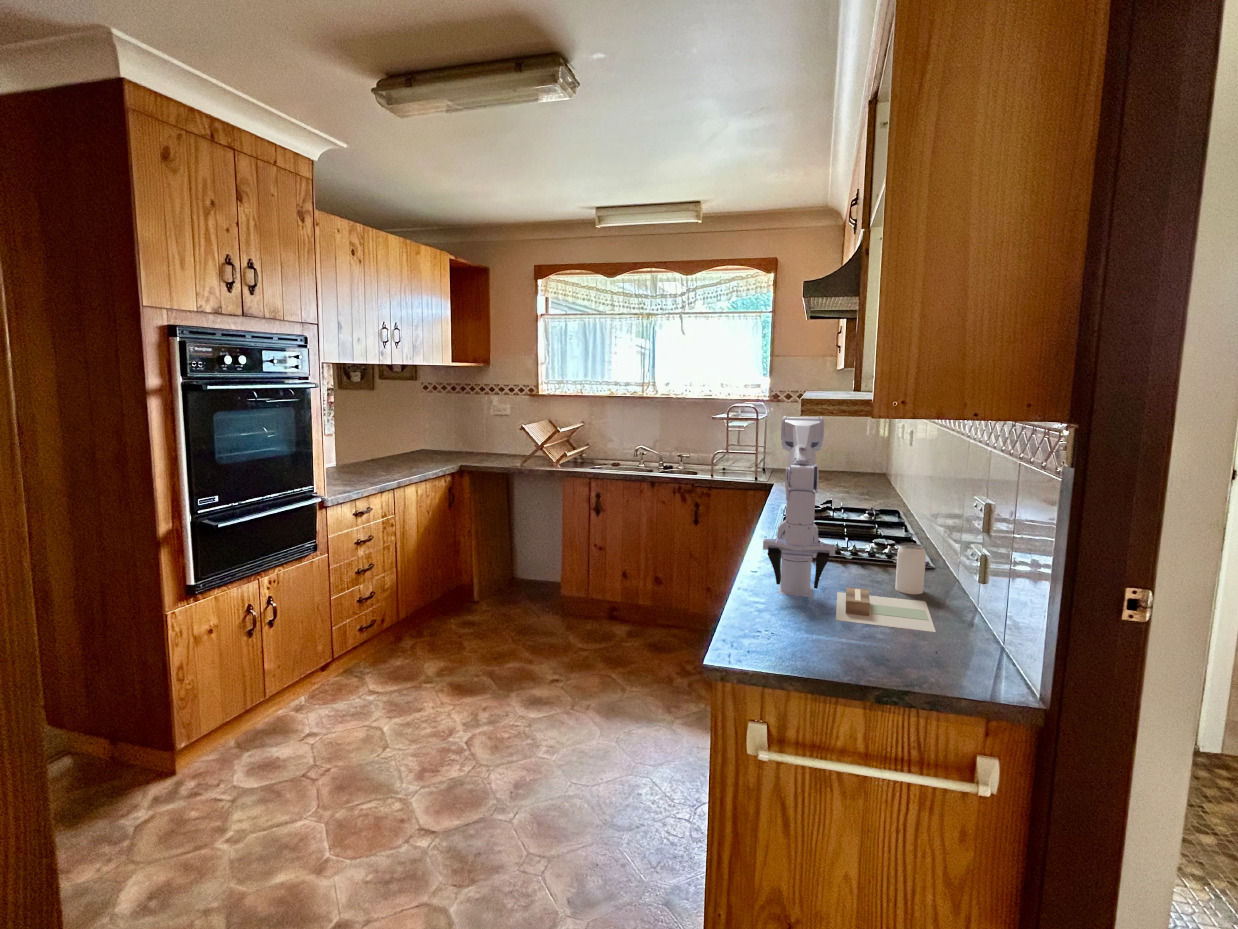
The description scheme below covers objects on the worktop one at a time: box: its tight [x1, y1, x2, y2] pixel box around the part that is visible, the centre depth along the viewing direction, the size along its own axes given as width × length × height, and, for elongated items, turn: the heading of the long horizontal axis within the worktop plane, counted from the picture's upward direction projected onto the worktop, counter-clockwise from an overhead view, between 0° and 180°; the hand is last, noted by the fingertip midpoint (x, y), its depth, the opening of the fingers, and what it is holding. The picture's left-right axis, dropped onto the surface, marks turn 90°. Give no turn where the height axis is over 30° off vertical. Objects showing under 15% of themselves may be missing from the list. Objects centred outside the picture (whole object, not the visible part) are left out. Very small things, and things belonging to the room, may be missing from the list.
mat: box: [835, 591, 936, 633], centre depth 152 cm, size 20×20×1 cm
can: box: [894, 542, 927, 595], centre depth 165 cm, size 6×6×12 cm
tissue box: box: [845, 586, 870, 616], centre depth 153 cm, size 10×5×3 cm, turn 161°
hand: (797, 585), depth 140 cm, fingers open, 7 cm apart
